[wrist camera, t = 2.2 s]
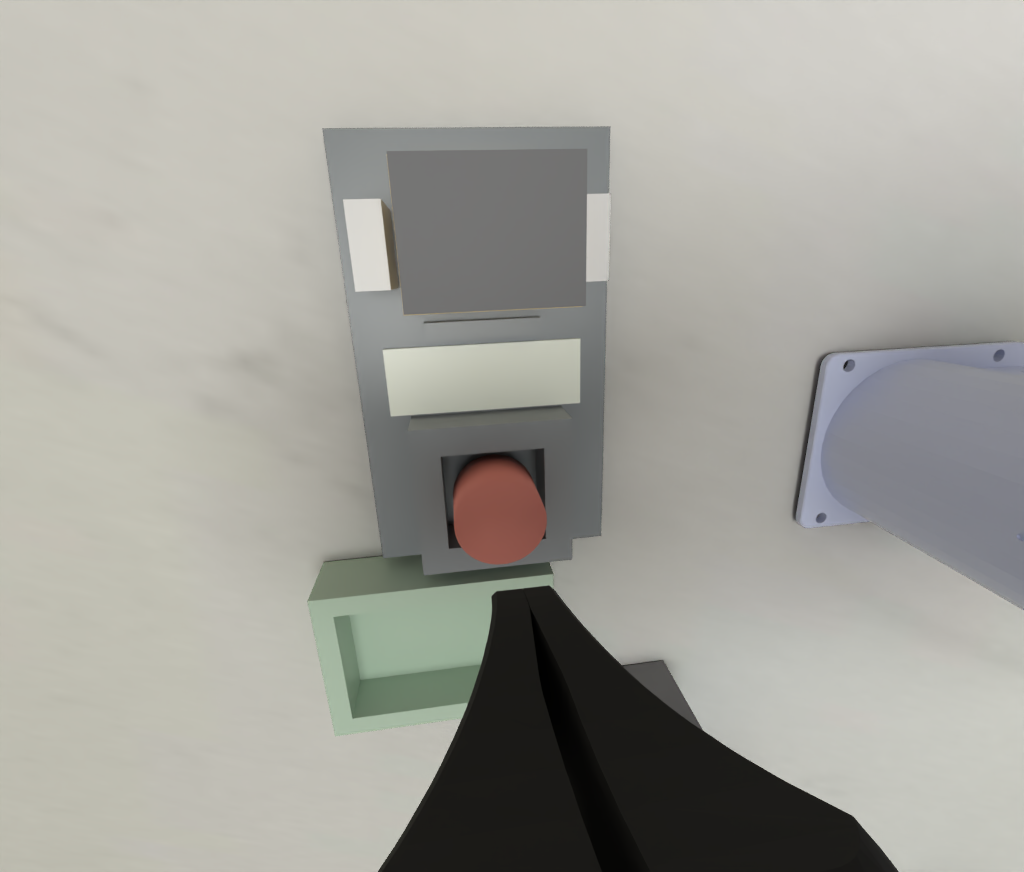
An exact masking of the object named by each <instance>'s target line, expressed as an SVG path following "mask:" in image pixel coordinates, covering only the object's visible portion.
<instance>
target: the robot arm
mask: <svg viewBox="0 0 1024 872" xmlns="http://www.w3.org/2000/svg"><path fill="white" fill-rule="evenodd" d="M846 361H848V364H847V366H846V368H845V369H843V365H844V363H845V362H846ZM818 514H820V515H819V517H817V515H818ZM816 517H817V518H816ZM796 521H797V523H798V524H800V525H801V526H803V527H804V528H815V527H824V526H834V525H843V524H852V523H862V522H872V523H874V524H876V525H877V526H879V527H881V528H883V529H884V530H886V531H888V532H889V533H891V534H893V535H895V536H896V537H898V538H900V539H902V540H903V541H905V542H907V543H909V544H910V545H912V546H914V547H915V548H917V549H919V550H921V551H922V552H924V553H926V554H928V555H929V556H931V557H933V558H935V559H936V560H938V561H940V562H941V563H943V564H945V565H947V566H948V567H950V568H952V569H954V570H955V571H957V572H959V573H960V574H962V575H964V576H966V577H967V578H969V579H971V580H973V581H974V582H976V583H978V584H980V585H981V586H983V587H985V588H986V589H988V590H990V591H992V592H993V593H995V594H997V595H999V596H1000V597H1002V598H1004V599H1005V600H1007V601H1009V602H1011V603H1012V604H1014V605H1016V606H1018V607H1019V608H1021V609H1023V610H1024V343H1023V342H1015V341H1013V342H997V343H981V344H966V345H950V346H934V347H919V348H903V349H887V350H871V351H856V352H840V353H832V354H829V355H827V356H826V357H825V358H824V359H823V361H822V363H821V367H820V373H819V379H818V385H817V391H816V397H815V403H814V409H813V415H812V421H811V427H810V433H809V439H808V445H807V451H806V457H805V464H804V470H803V476H802V482H801V488H800V494H799V500H798V506H797V512H796ZM491 599H492V615H491V623H490V629H489V634H488V639H487V643H486V647H485V651H484V655H483V659H482V663H481V666H480V669H479V672H478V675H477V679H476V682H475V685H474V688H473V691H472V694H471V697H470V699H469V702H468V705H467V707H466V710H465V712H464V715H463V717H462V720H461V722H460V725H459V727H458V729H457V732H456V734H455V736H454V738H453V741H452V743H451V745H450V747H449V749H448V751H447V753H446V755H445V757H444V759H443V762H442V764H441V766H440V768H439V770H438V772H437V774H436V776H435V778H434V779H433V781H432V783H431V785H430V787H429V789H428V790H427V792H426V794H425V796H424V797H423V799H422V801H421V803H420V804H419V806H418V808H417V810H416V811H415V813H414V815H413V817H412V818H411V820H410V822H409V824H408V825H407V827H406V829H405V831H404V832H403V834H402V835H401V837H400V839H399V840H398V842H397V844H396V845H395V847H394V848H393V850H392V851H391V853H390V854H389V856H388V857H387V859H386V860H385V862H384V863H383V865H382V866H381V868H380V869H379V871H378V872H898V870H897V869H896V868H895V866H894V865H893V864H892V862H891V861H890V860H889V859H888V857H887V856H886V855H885V853H884V852H883V851H882V850H881V848H880V847H879V846H878V845H877V844H876V842H875V841H874V840H873V839H872V838H871V837H870V836H869V834H868V833H867V832H866V831H865V830H864V829H863V828H862V826H861V825H860V824H859V823H858V822H857V820H856V819H855V818H854V817H853V816H852V815H850V814H848V813H846V812H844V811H842V810H840V809H838V808H836V807H834V806H832V805H830V804H828V803H826V802H824V801H822V800H820V799H818V798H817V797H815V796H813V795H811V794H809V793H807V792H805V791H803V790H801V789H799V788H797V787H795V786H793V785H791V784H789V783H787V782H785V781H784V780H782V779H780V778H778V777H776V776H775V775H773V774H771V773H770V772H768V771H766V770H764V769H763V768H761V767H759V766H758V765H756V764H754V763H752V762H751V761H749V760H747V759H746V758H744V757H742V756H741V755H739V754H737V753H736V752H734V751H733V750H731V749H730V748H728V747H726V746H725V745H723V744H722V743H720V742H719V741H717V740H716V739H714V738H713V737H712V736H710V735H709V734H707V733H706V732H704V731H703V730H701V729H700V728H698V727H697V726H695V725H694V724H692V723H691V722H689V721H688V720H687V719H685V718H684V717H683V716H681V715H680V714H679V713H677V712H676V711H675V710H673V709H672V708H671V707H669V706H668V705H667V704H666V703H664V702H663V701H662V700H661V699H659V698H658V697H657V696H656V695H654V694H653V693H652V692H651V691H650V690H648V689H647V688H646V687H645V686H644V685H643V684H641V683H640V682H639V681H638V680H637V679H636V678H635V677H634V676H633V675H631V674H630V673H629V672H628V671H627V670H626V669H625V668H624V667H623V666H622V665H621V664H620V663H619V662H618V661H617V660H616V659H615V658H614V657H613V656H612V655H611V654H610V653H609V652H608V651H607V650H606V649H605V648H604V647H603V646H602V645H601V644H600V643H599V642H598V641H597V640H596V639H595V638H594V637H593V636H592V635H591V633H590V632H589V631H588V630H587V629H586V628H585V627H584V626H583V625H582V624H581V622H580V621H579V620H578V619H577V618H576V616H575V615H574V614H573V613H572V612H571V611H570V609H569V608H568V607H567V606H566V604H565V603H564V602H563V601H562V599H561V598H560V597H559V595H558V594H557V593H556V591H555V590H554V589H553V588H552V587H551V586H549V585H548V586H539V587H530V588H521V589H513V590H504V591H496V592H495V593H494V594H493V595H492V596H491Z"/></svg>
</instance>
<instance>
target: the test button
mask: <svg viewBox="0 0 1024 872" xmlns="http://www.w3.org/2000/svg"><path fill="white" fill-rule="evenodd" d="M453 508H454V530H455V535H456V538H457V541H458V543H459V545H460V546H461V547H462V549H463V550H464V551H465V552H466V553H467V554H468V555H470V556H471V557H473V558H474V559H476V560H478V561H481V562H484V563H488V564H497V565H498V564H508V563H512V562H515V561H517V560H520V559H522V558H524V557H525V556H527V555H528V554H530V553H531V552H532V551H533V550H534V549H535V548H536V547H537V546H538V544H539V543H540V541H541V540H542V538H543V536H544V533H545V530H546V525H547V515H546V510H545V507H544V505H543V502H542V500H541V498H540V495H539V493H538V491H537V489H536V486H535V484H534V482H533V479H532V477H531V475H530V473H529V471H528V470H527V469H526V467H525V466H524V465H523V464H522V463H520V462H519V461H517V460H516V459H514V458H511V457H509V456H505V455H498V454H493V455H486V456H482V457H479V458H477V459H475V460H473V461H471V462H470V463H469V464H467V465H466V466H465V467H464V468H463V469H462V470H461V472H460V473H459V475H458V476H457V478H456V481H455V483H454V488H453Z"/></svg>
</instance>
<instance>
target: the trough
mask: <svg viewBox="0 0 1024 872" xmlns="http://www.w3.org/2000/svg"><path fill="white" fill-rule="evenodd" d="M548 585H549V586H551V587H552V588H553V572H552V569H551V566H550V564H549V562H544V563H534V564H525V565H516V566H507V567H497V568H488V569H479V570H470V571H460V572H451V573H442V574H433V575H424V573H423V564H422V555H421V554H420V555H410V556H400V557H391V558H383V556H379V557H369V558H359V559H349V560H340V561H330V562H324V563H323V566H322V568H321V570H320V573H319V575H318V578H317V580H316V582H315V585H314V587H313V589H312V592H311V594H310V597H309V599H308V601H307V602H308V607H309V612H310V616H311V621H312V626H313V631H314V636H315V641H316V646H317V650H318V655H319V660H320V665H321V670H322V675H323V680H324V684H325V689H326V694H327V699H328V704H329V709H330V714H331V719H332V723H333V728H334V733H335V736H341V735H348V734H355V733H362V732H369V731H376V730H383V729H390V728H397V727H404V726H411V725H418V724H426V723H433V722H440V721H447V720H454V719H461V718H462V717H463V715H464V712H465V710H466V707H467V705H468V702H469V699H470V697H471V694H472V691H473V688H474V685H475V682H476V679H477V675H478V672H479V669H480V666H481V663H482V659H483V655H484V651H485V647H486V643H487V639H488V634H489V629H490V623H491V615H492V599H491V596H492V595H493V594H494V593H495V592H496V591H504V590H513V589H521V588H530V587H539V586H548Z"/></svg>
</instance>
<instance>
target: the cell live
mask: <svg viewBox="0 0 1024 872" xmlns="http://www.w3.org/2000/svg"><path fill="white" fill-rule="evenodd" d="M386 152H387V154H386V155H387V164H388V174H389V183H390V193H391V202H392V211H393V221H394V230H395V239H396V249H397V258H398V268H399V277H400V286H401V296H402V305H403V315H404V316H405V315H425V314H445V313H466V312H486V311H507V310H527V309H547V308H568V307H582V306H586V247H587V149H517V150H433V151H386Z"/></svg>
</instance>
